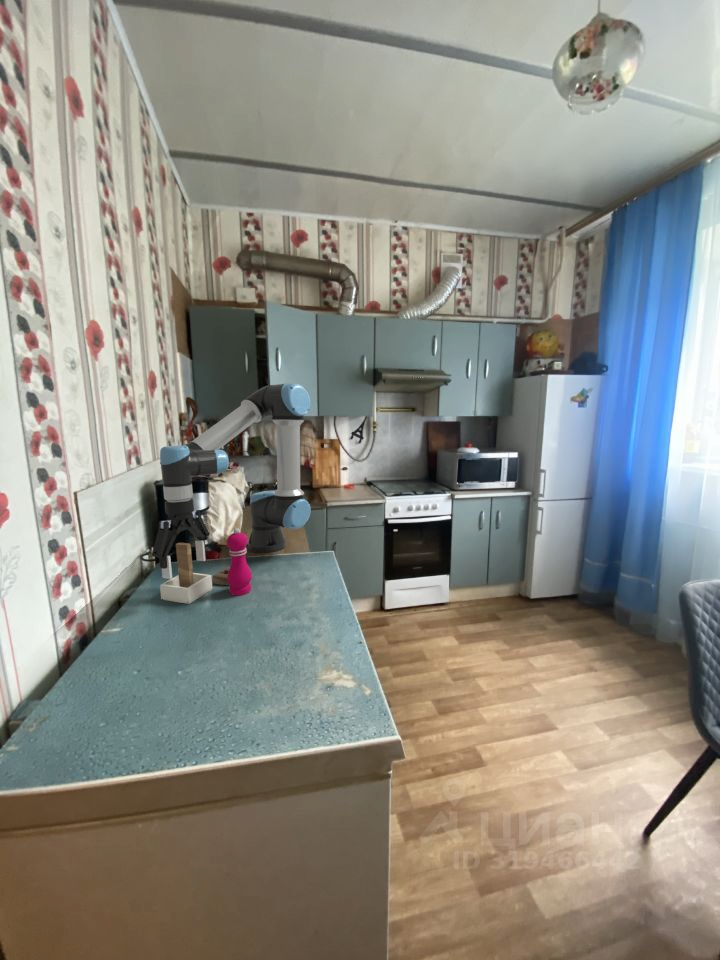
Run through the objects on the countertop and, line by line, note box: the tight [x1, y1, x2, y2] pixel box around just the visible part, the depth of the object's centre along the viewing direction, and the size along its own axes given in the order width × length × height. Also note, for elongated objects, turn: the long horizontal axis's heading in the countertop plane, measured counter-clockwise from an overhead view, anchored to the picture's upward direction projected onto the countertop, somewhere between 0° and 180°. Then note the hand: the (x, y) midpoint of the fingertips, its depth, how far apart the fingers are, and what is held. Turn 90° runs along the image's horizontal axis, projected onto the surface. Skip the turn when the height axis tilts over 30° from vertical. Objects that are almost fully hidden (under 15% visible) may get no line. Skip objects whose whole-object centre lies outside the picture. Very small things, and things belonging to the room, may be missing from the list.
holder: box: [212, 567, 231, 587], centre depth 122 cm, size 7×7×2 cm
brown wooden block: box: [175, 542, 194, 588], centre depth 111 cm, size 2×4×15 cm, turn 73°
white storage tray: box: [159, 572, 213, 605], centre depth 112 cm, size 10×10×4 cm
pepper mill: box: [226, 527, 253, 597], centre depth 113 cm, size 7×7×20 cm
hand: (185, 568), depth 111 cm, fingers open, 13 cm apart
